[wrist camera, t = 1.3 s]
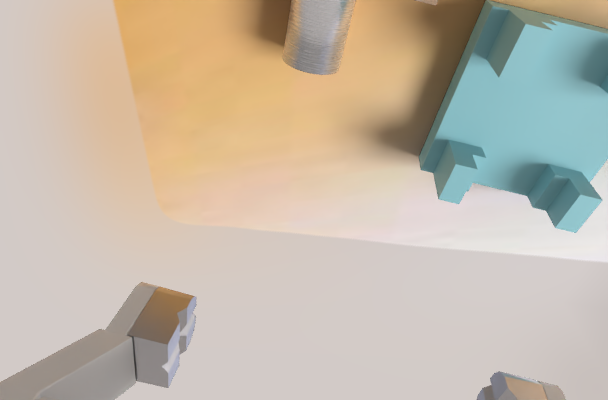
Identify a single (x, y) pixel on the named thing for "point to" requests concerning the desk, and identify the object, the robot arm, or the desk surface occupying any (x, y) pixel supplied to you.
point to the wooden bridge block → (429, 1)
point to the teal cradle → (525, 113)
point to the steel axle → (317, 34)
